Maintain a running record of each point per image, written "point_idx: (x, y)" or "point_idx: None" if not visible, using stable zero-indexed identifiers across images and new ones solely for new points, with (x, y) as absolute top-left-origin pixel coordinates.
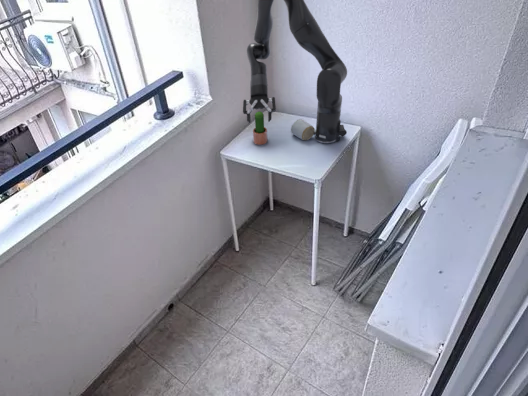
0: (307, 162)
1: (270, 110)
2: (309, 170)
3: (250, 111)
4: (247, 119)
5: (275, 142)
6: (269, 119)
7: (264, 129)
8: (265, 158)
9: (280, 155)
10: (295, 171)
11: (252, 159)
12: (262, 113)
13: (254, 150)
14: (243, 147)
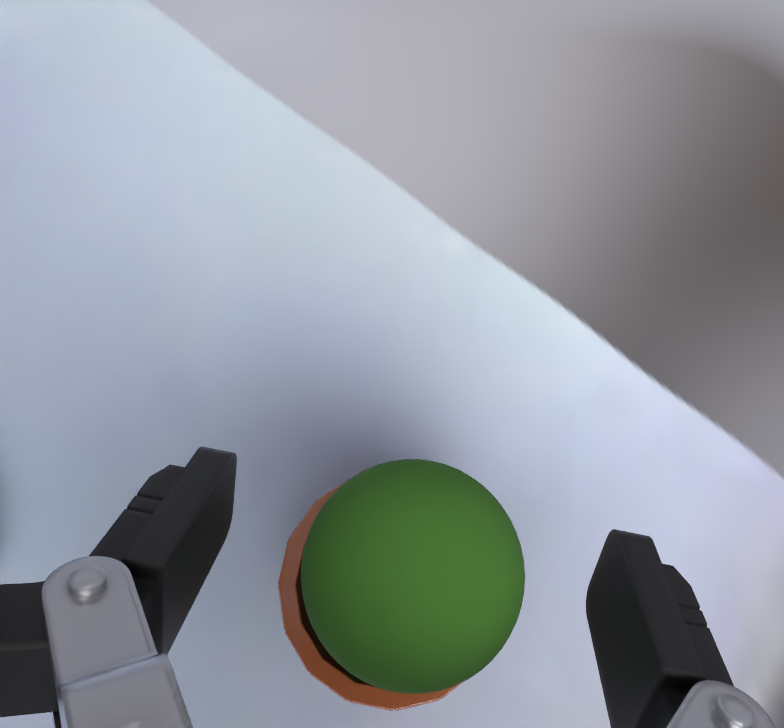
0: (46, 110)
1: (76, 574)
2: (80, 20)
3: (670, 725)
4: (685, 592)
5: None
6: (205, 451)
7: (310, 632)
8: (389, 259)
9: (236, 267)
10: (189, 34)
11: (516, 277)
12: (328, 534)
13: (478, 428)
14: (599, 528)
